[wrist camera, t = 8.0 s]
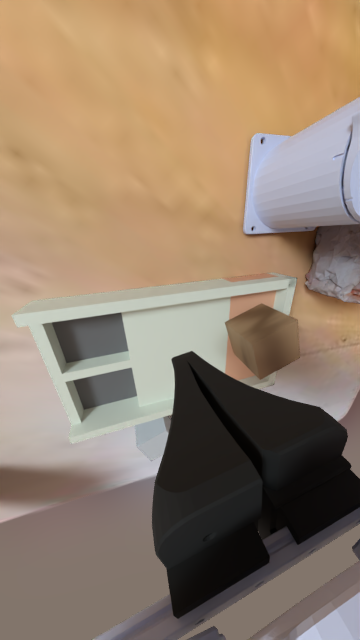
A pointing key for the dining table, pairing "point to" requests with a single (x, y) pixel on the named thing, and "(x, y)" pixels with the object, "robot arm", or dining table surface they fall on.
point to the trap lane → (142, 344)
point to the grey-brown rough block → (336, 263)
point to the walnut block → (264, 339)
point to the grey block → (153, 437)
